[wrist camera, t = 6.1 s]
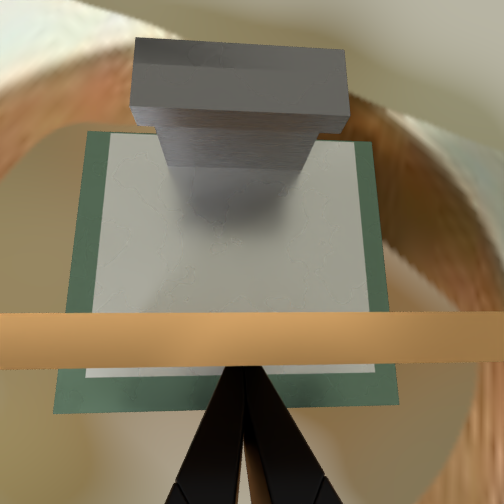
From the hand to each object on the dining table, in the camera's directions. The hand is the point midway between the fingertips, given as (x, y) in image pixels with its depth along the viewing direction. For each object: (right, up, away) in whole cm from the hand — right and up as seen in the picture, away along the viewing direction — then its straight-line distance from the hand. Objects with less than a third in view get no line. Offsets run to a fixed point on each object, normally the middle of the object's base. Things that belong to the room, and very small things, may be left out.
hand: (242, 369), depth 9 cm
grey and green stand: (-1, +3, +11) cm, 12 cm away
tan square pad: (0, -1, +5) cm, 6 cm away
